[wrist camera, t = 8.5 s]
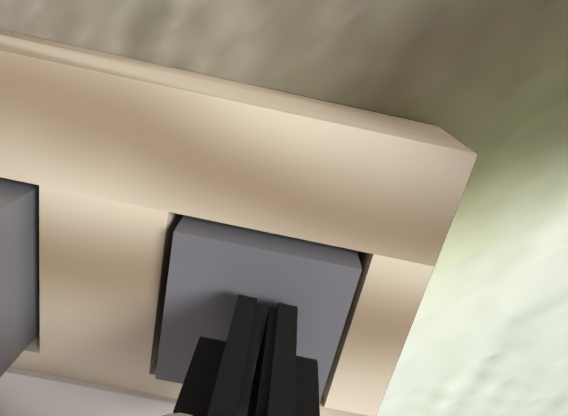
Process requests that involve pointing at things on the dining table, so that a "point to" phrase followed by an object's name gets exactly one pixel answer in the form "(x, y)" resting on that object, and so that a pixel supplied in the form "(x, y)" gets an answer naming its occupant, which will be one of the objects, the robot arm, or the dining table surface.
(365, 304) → the button board
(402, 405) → the dining table surface
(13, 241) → the button middle
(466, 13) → the dining table surface
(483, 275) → the dining table surface
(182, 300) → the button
